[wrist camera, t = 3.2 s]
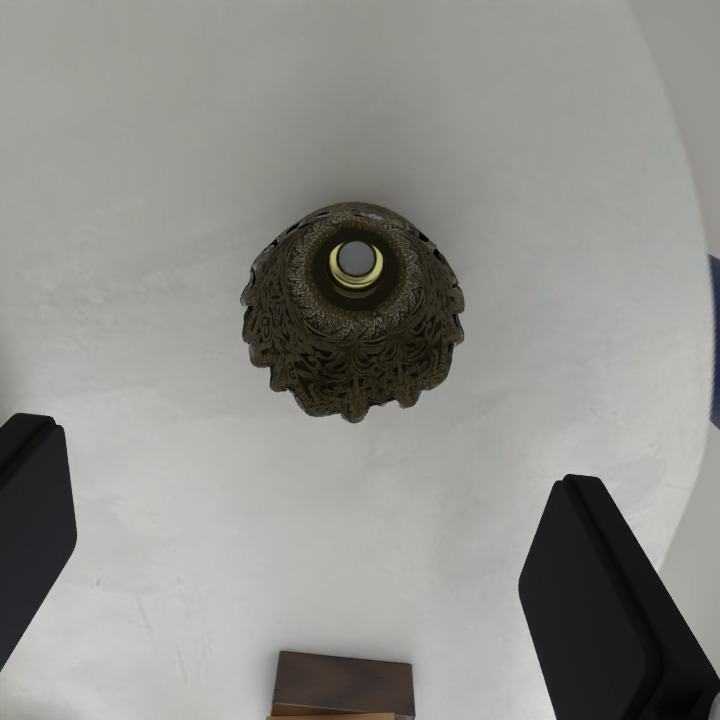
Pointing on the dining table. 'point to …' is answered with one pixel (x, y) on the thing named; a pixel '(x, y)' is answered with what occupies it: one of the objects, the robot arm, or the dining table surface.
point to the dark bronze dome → (352, 313)
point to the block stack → (341, 689)
